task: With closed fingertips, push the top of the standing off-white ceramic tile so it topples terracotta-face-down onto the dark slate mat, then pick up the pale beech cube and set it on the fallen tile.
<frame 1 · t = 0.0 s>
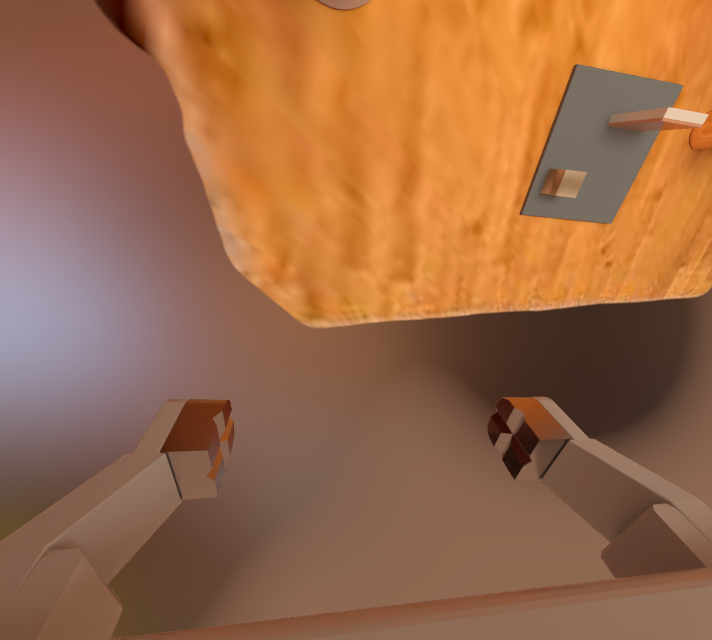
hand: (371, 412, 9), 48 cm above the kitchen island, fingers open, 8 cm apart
mat: (594, 154, 51), on the kitchen island
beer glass: (705, 130, 52), on the kitchen island
beech cube: (554, 182, 52), point 1 cm above the kitchen island, touching mat
tile: (627, 123, 49), point 1 cm above the kitchen island, touching mat
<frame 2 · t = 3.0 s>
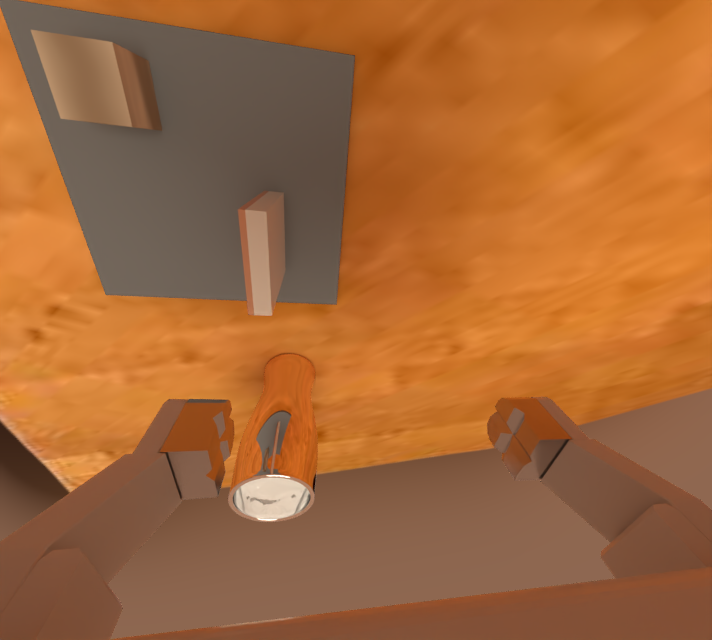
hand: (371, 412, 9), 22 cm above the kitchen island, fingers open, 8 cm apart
mat: (214, 191, 25), on the kitchen island
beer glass: (290, 371, 35), on the kitchen island
beech cube: (125, 93, 20), point 1 cm above the kitchen island, touching mat
tile: (275, 233, 26), point 1 cm above the kitchen island, touching mat
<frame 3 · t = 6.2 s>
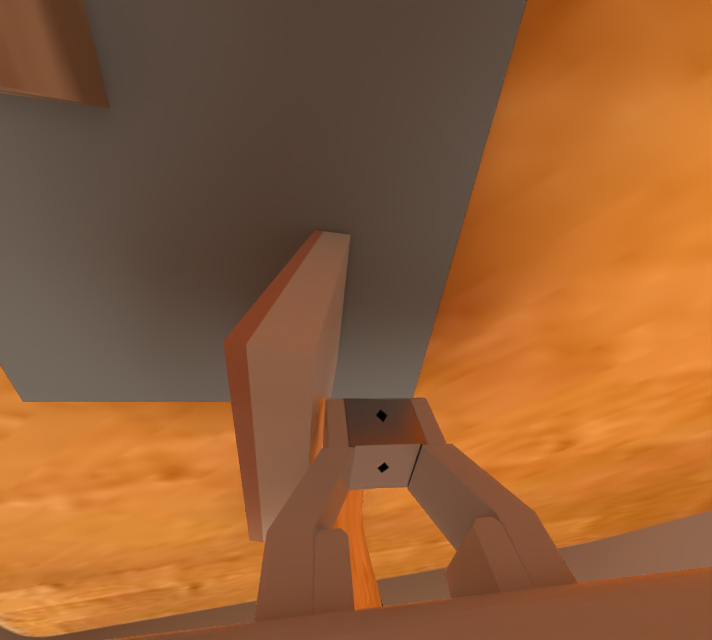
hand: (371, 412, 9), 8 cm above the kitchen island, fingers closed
mat: (220, 229, 13), on the kitchen island
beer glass: (325, 481, 24), on the kitchen island
beech cube: (15, 17, 9), point 1 cm above the kitchen island, touching mat
tile: (327, 302, 15), point 1 cm above the kitchen island, tilted 10°, touching mat
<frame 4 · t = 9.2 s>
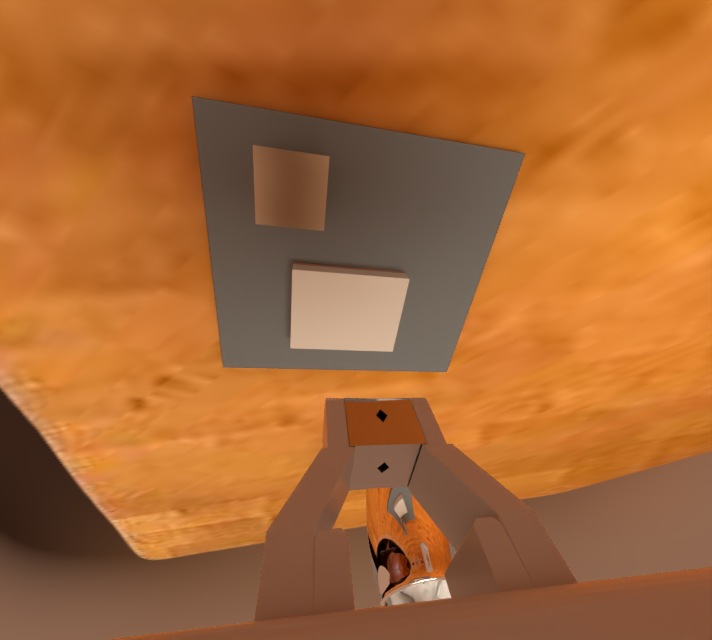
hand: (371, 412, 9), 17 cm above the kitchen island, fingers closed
mat: (354, 271, 24), on the kitchen island
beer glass: (382, 431, 35), on the kitchen island
beech cube: (295, 185, 20), point 1 cm above the kitchen island, touching mat
tile: (398, 313, 25), point 1 cm above the kitchen island, tilted 90°, touching mat
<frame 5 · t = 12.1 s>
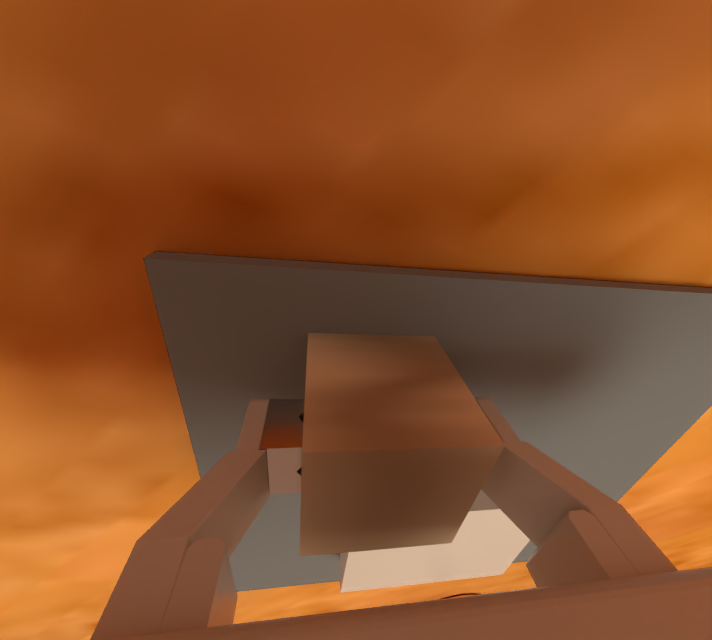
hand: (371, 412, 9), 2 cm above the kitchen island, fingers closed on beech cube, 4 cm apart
mat: (449, 468, 14), on the kitchen island
beech cube: (365, 383, 10), point 1 cm above the kitchen island, touching gripper, mat
tile: (517, 525, 15), point 1 cm above the kitchen island, tilted 90°, touching mat
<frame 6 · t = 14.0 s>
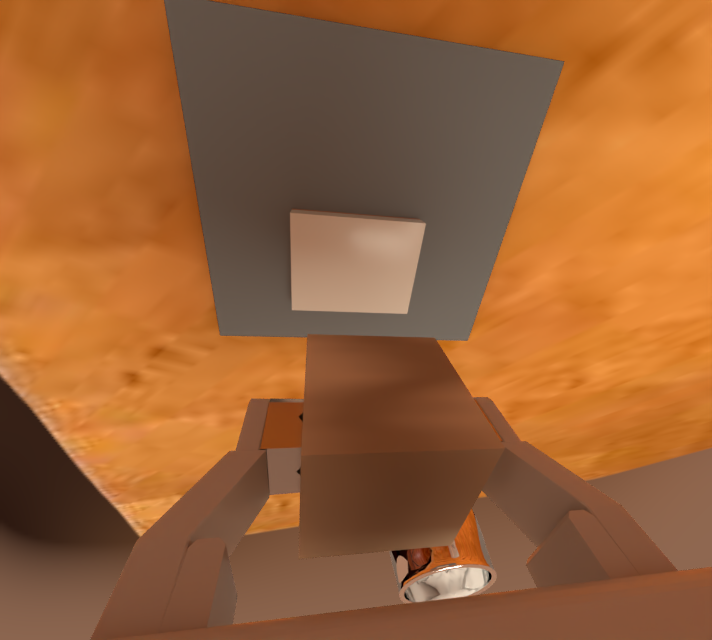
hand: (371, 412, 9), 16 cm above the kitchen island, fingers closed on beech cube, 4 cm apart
mat: (362, 219, 21), on the kitchen island
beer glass: (396, 410, 32), on the kitchen island
beech cube: (365, 385, 10), point 14 cm above the kitchen island, touching gripper
tile: (412, 268, 22), point 1 cm above the kitchen island, tilted 90°, touching mat
when the fingers open (5 cm above the kitchen island, at t = 16.3 s): beech cube drops 1 cm, resting on tile.
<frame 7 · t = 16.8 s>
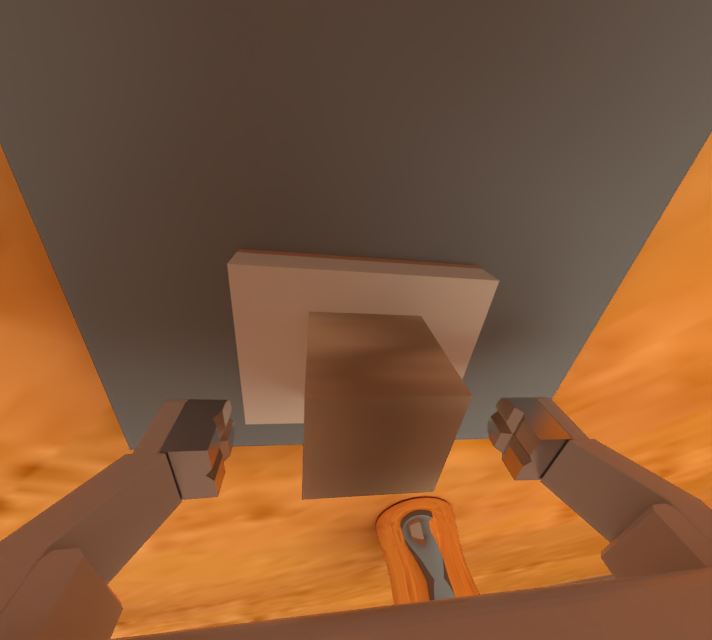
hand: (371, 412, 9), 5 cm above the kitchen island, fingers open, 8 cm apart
mat: (373, 265, 12), on the kitchen island
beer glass: (413, 516, 22), on the kitchen island
beech cube: (360, 359, 11), point 2 cm above the kitchen island, touching tile
tile: (461, 349, 12), point 1 cm above the kitchen island, tilted 90°, touching beech cube, mat
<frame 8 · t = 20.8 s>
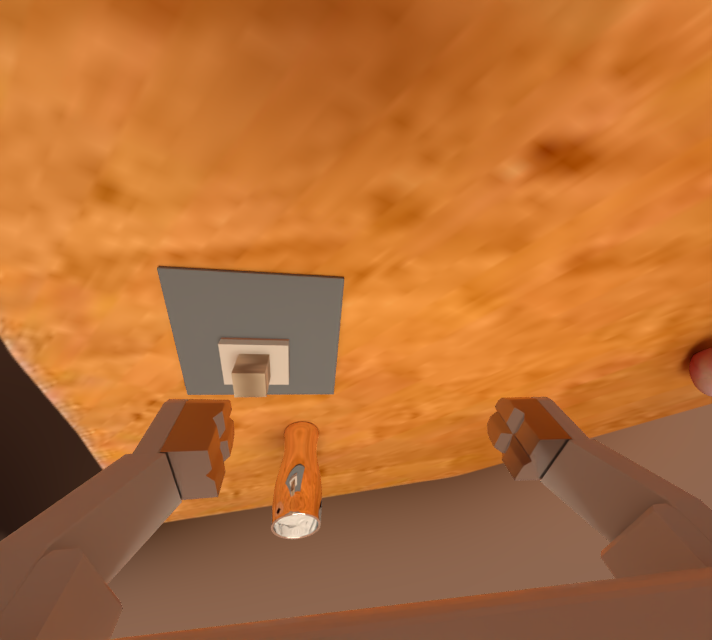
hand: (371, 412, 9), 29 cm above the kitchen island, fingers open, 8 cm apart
mat: (260, 339, 41), on the kitchen island
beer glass: (301, 432, 52), on the kitchen island
beech cube: (255, 365, 40), point 2 cm above the kitchen island, touching tile
decorative fruit: (694, 353, 53), on the kitchen island
tile: (288, 362, 42), point 1 cm above the kitchen island, tilted 90°, touching beech cube, mat
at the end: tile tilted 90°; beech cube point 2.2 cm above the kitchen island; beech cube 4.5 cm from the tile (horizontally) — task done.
